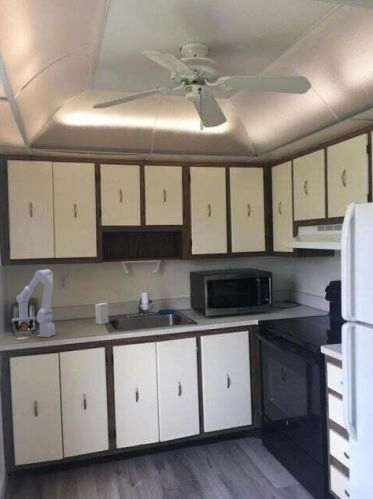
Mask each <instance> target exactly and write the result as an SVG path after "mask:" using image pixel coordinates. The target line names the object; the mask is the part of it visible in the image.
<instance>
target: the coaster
mask: <svg viewBox="0 0 373 499" xmlns="http://www.w3.org/2000/svg"><path fill="white" fill-rule="evenodd" d="M15 339H16V340H17V341H24V340H28V339H30V335H29V336H18V337H15Z"/></svg>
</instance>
